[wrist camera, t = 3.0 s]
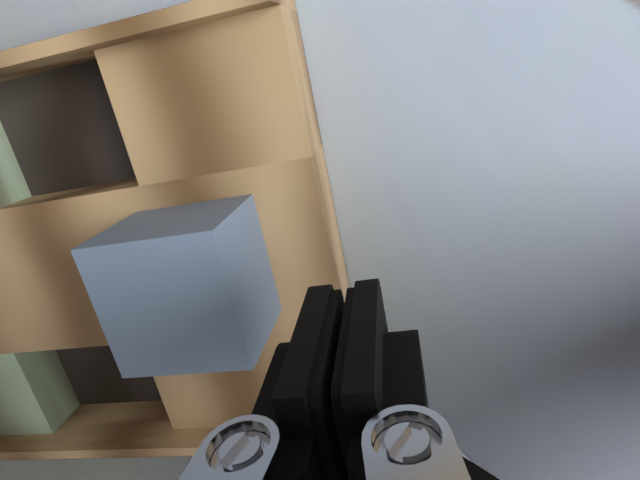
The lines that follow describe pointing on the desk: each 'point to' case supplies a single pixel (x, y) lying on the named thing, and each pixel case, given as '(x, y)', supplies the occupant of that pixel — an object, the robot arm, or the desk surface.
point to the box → (146, 194)
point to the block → (183, 288)
